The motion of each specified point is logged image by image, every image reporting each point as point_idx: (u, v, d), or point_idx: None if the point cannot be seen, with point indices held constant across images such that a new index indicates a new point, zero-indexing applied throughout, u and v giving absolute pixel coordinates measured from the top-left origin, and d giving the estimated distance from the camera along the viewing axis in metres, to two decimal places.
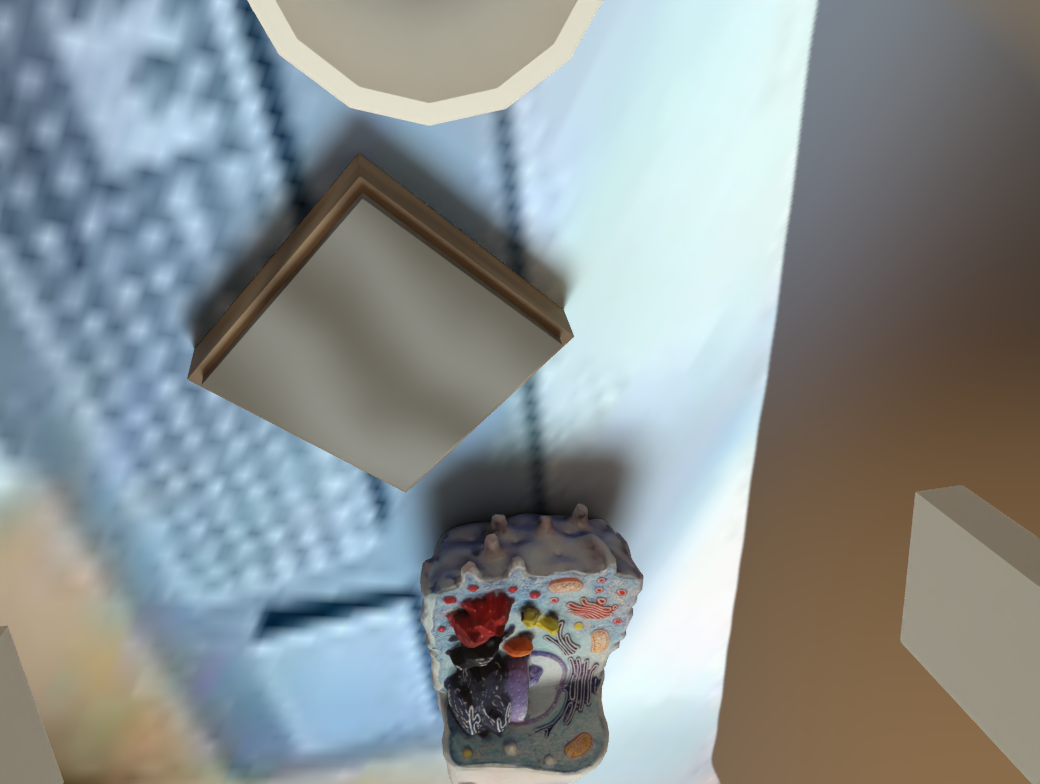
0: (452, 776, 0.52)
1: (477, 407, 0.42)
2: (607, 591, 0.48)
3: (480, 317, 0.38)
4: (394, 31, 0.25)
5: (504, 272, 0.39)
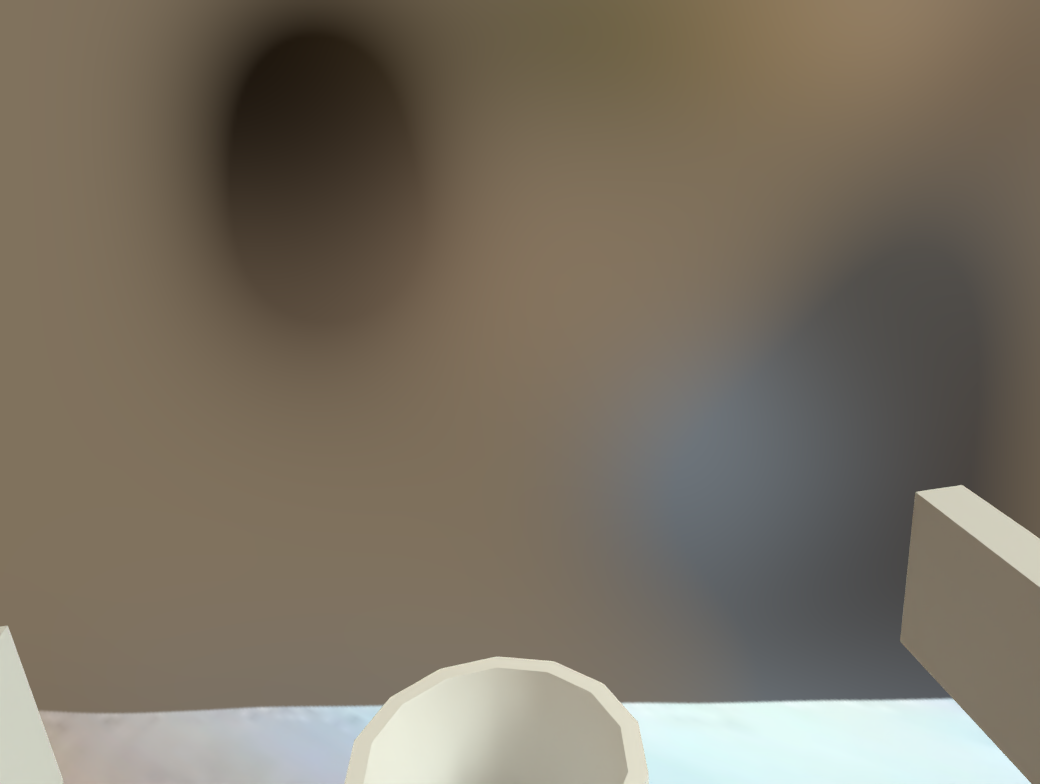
0: None
1: None
2: None
3: None
4: None
5: None
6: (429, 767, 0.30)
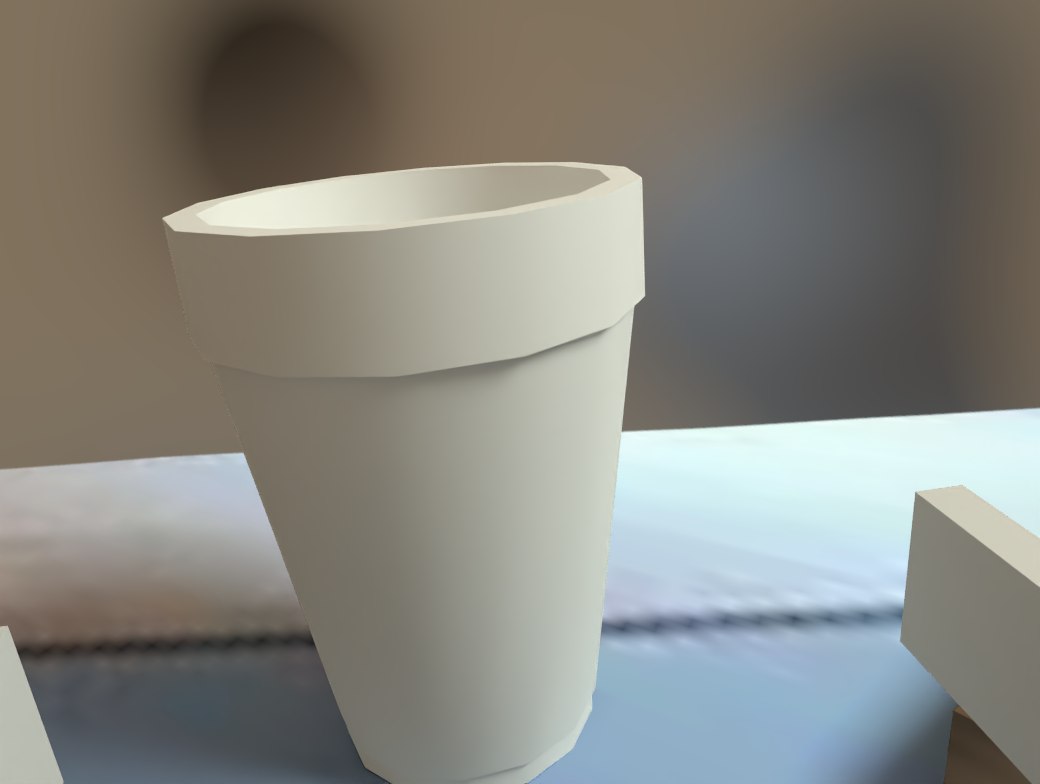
0: None
1: None
2: None
3: None
4: None
5: None
6: None
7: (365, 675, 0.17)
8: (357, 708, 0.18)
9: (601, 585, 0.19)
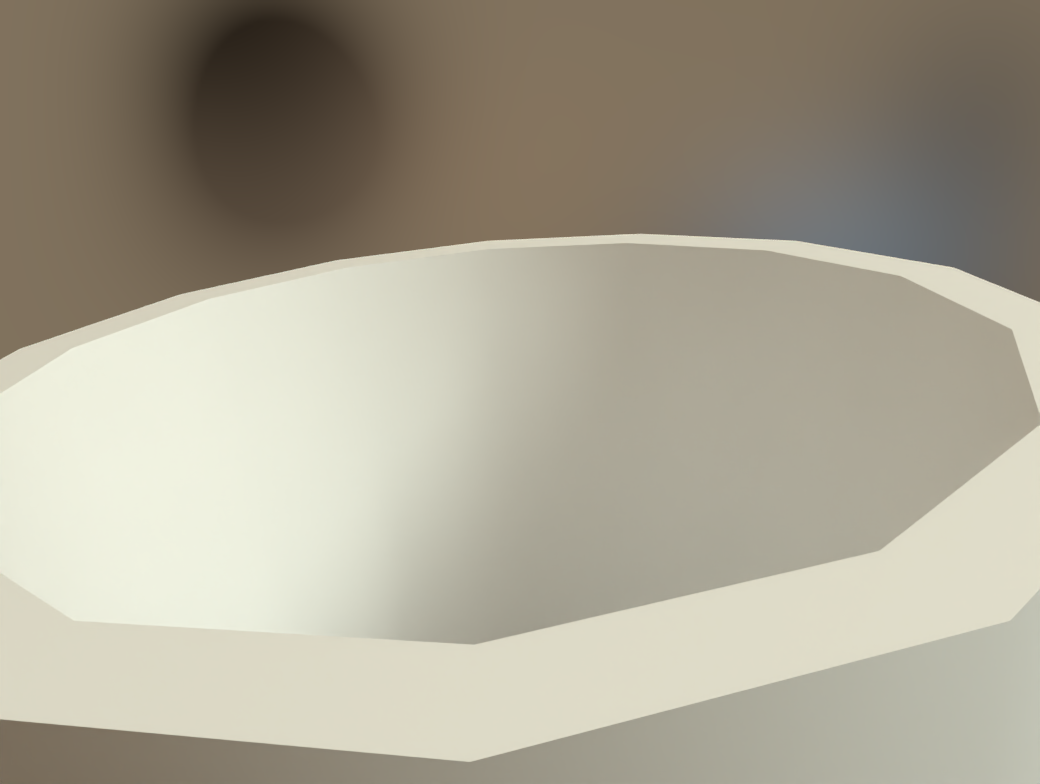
0: None
1: None
2: None
3: None
4: None
5: None
6: (307, 517, 0.11)
7: None
8: None
9: None
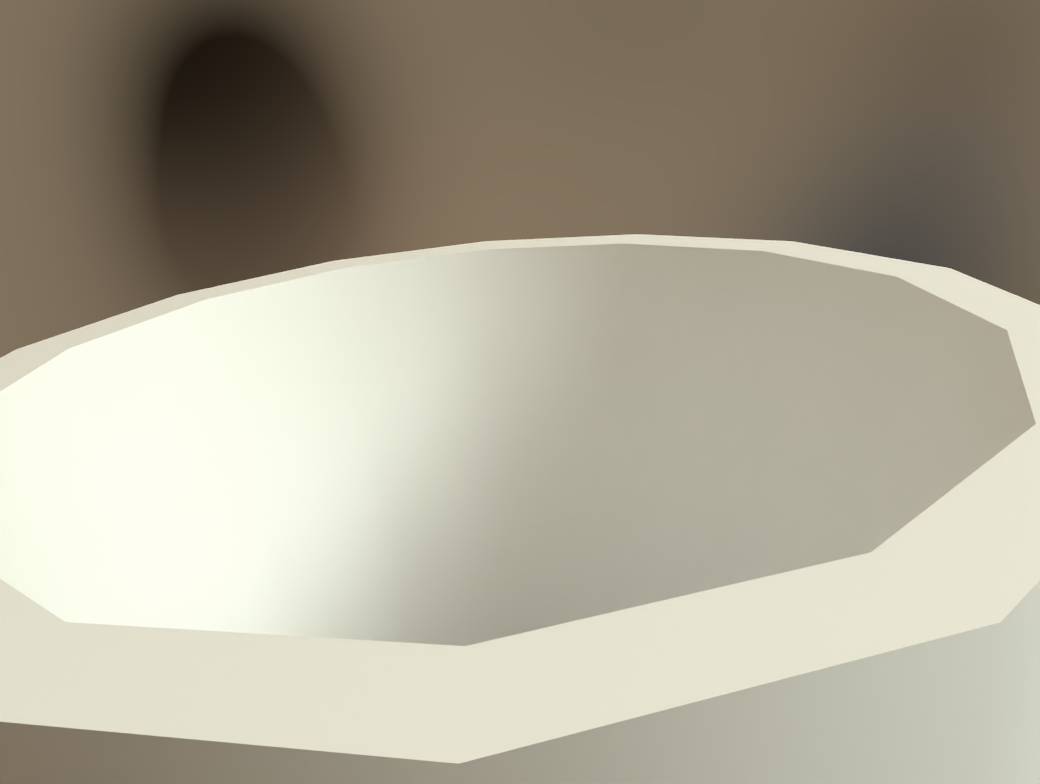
0: None
1: None
2: None
3: None
4: None
5: None
6: (304, 517, 0.11)
7: None
8: None
9: None
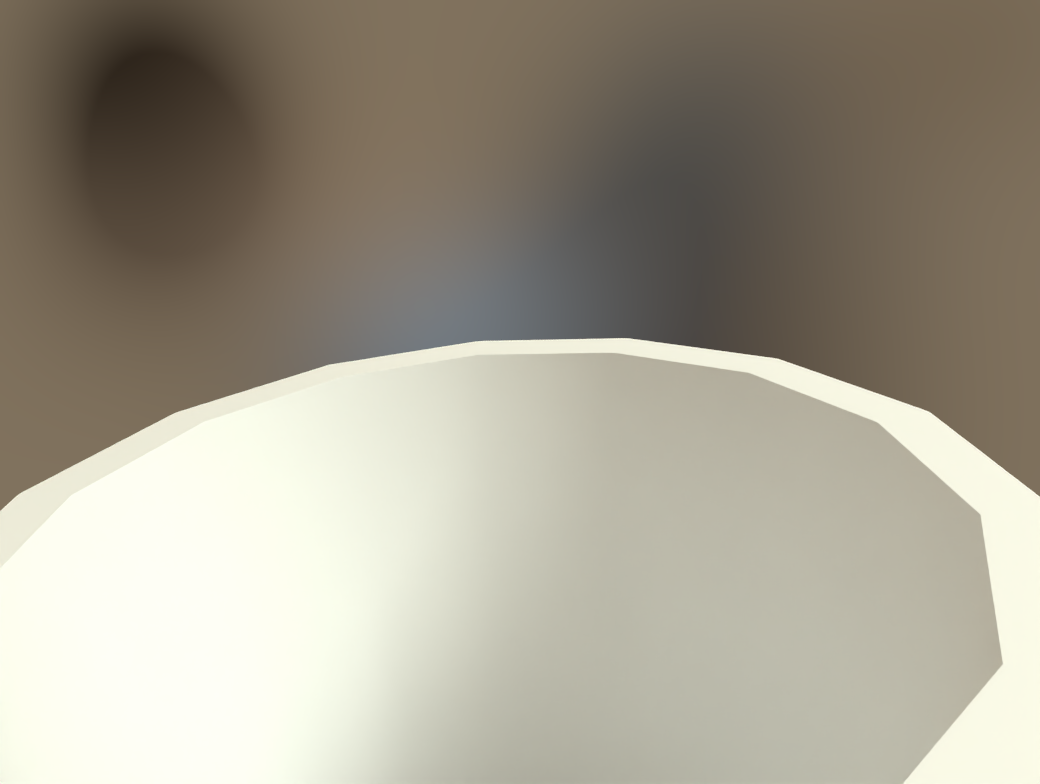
0: None
1: None
2: None
3: None
4: None
5: None
6: (301, 621, 0.11)
7: None
8: None
9: None
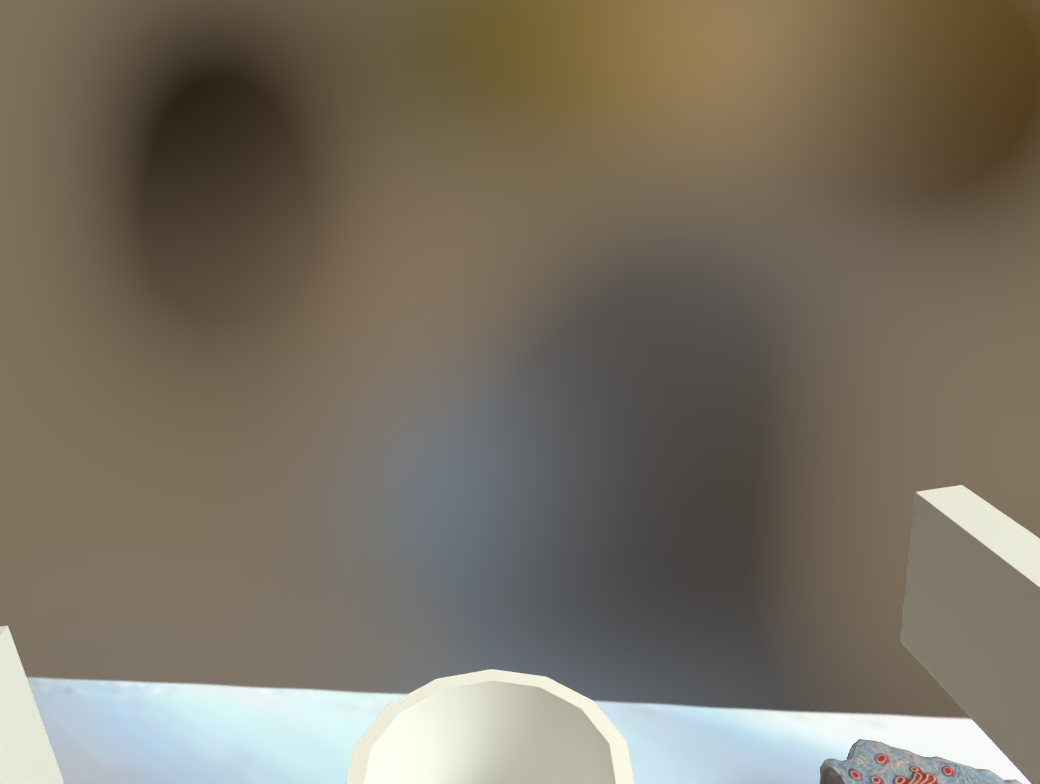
0: None
1: None
2: (881, 773, 0.39)
3: None
4: None
5: None
6: (421, 773, 0.31)
7: None
8: None
9: None
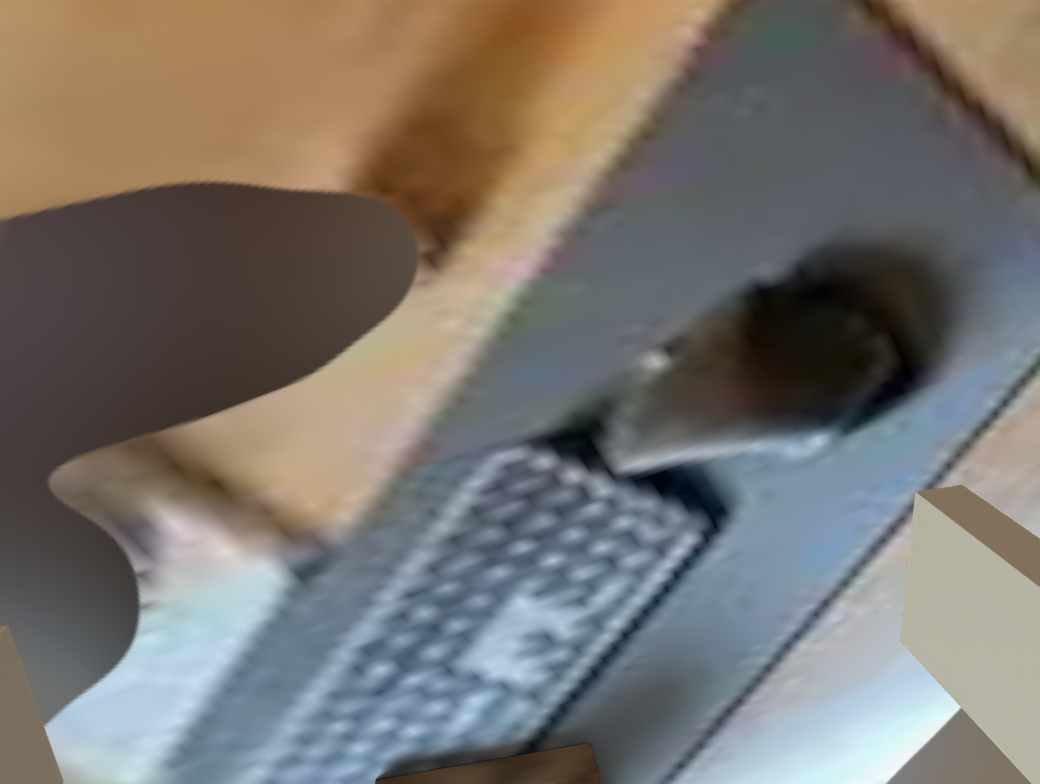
0: None
1: None
2: None
3: None
4: None
5: None
6: None
7: None
8: None
9: None
